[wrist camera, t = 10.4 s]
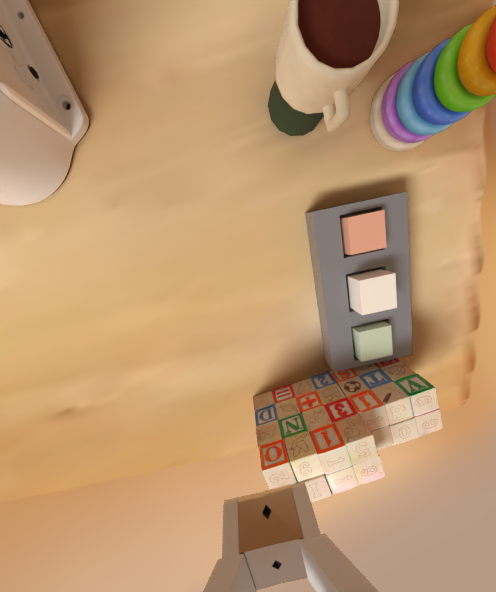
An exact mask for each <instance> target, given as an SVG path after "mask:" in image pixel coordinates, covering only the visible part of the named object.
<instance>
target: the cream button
mask: <svg viewBox="0 0 496 592" xmlns="http://www.w3.org/2000/svg"><path fill="white" fill-rule="evenodd" d="M347 278H348V288H349V298H350V308H352V309H353V310H355V311H356V312H358V313H359V314H361V315H366V314H371V313H375V312H380V311H385V310H389V309H394V308H397V294H396V274H395V273H393V272H390V271H386V270H382V269H378V270H374V271H369V272H364V273H360V274H355V275H350V276H347Z"/></svg>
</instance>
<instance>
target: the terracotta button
mask: <svg viewBox="0 0 496 592" xmlns="http://www.w3.org/2000/svg"><path fill="white" fill-rule="evenodd" d="M340 225H341V235H342V244H343V254H348V255H354V254H359V253H363V252H368V251H373V250H377V249H382V248H387V245H386V228H385V210H379V211H371V212H366V213H362V214H357V215H352V216H347V217H343V218H340Z"/></svg>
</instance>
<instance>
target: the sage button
mask: <svg viewBox="0 0 496 592" xmlns="http://www.w3.org/2000/svg"><path fill="white" fill-rule="evenodd" d="M351 332H352V342H353V351H354V355H355V356H356V357H357V358H358V359H359V360H360V361H361V362H363V361H368V360H372V359H377V358H381V357H386V356H390V355H393V348H392V331H391V325H390V324H388V323H386V322H385V321H383V320H380V321H376V322H371V323H367V324H362V325H357V326H353V327H351Z"/></svg>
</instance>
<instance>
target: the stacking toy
mask: <svg viewBox="0 0 496 592" xmlns="http://www.w3.org/2000/svg"><path fill="white" fill-rule="evenodd" d="M495 96H496V5H495V6H494V7H492V8H490V9H489V10H487V11H486V12H484V13H483V14H482V15H481V16H480V17H479V18H478V19H477V20H476V21H475V22H474V23H471V24H469V25H467V26H466V27H464V28H463V29H461V30H460V31H459V32H457V33H456V34H455V35H454V36H453V37H452V38H449V39H447V40H445V41H443V42H441V43H440V44H439V45H437V46H436V47H435V48H434V49H432V50H431V51H430V52H428V53H426V54H424V55H423V56H421V57H420V58H418V59H416V60H413V61H411V62H409V63H407V64H406V65H404V66H403V67H402V68H401V69H400V70H398V71H397V72H396V73H394V74H393V75H391V76H390V77H389V78H388V79H386V80H385V81H384V83H383V84H382V85H381V86H380V88H379V89H378V91H377V92H376V94H375V96H374V99H373V102H372V105H371V110H370V125H371V129H372V132H373V135H374V136H375V138H376V140H377V141H378V142H379V143H380V144H381V145H382V146H383V147H385V148H386V149H388V150H391V151H396V152H403V151H408V150H411V149H414V148H416V147H418V146H419V145H421V144H422V143H423V142H424V141H425V140H426V139H428V138H430V137H432V136H433V135H435V134H436V133H439V132H441V131H443V130H445V129H447V128H448V127H450V126H451V125H452V124H453V123H454V122H457V121H459V120H460V119H462V118H464V117H465V116H466V115H468V114H469V113H470V112H471V111H472V110H475V109H477V108H479V107H481V106H483V105H485V104H486V103H488V102H489V101H490V100H491V99H492V98H494V97H495Z"/></svg>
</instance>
